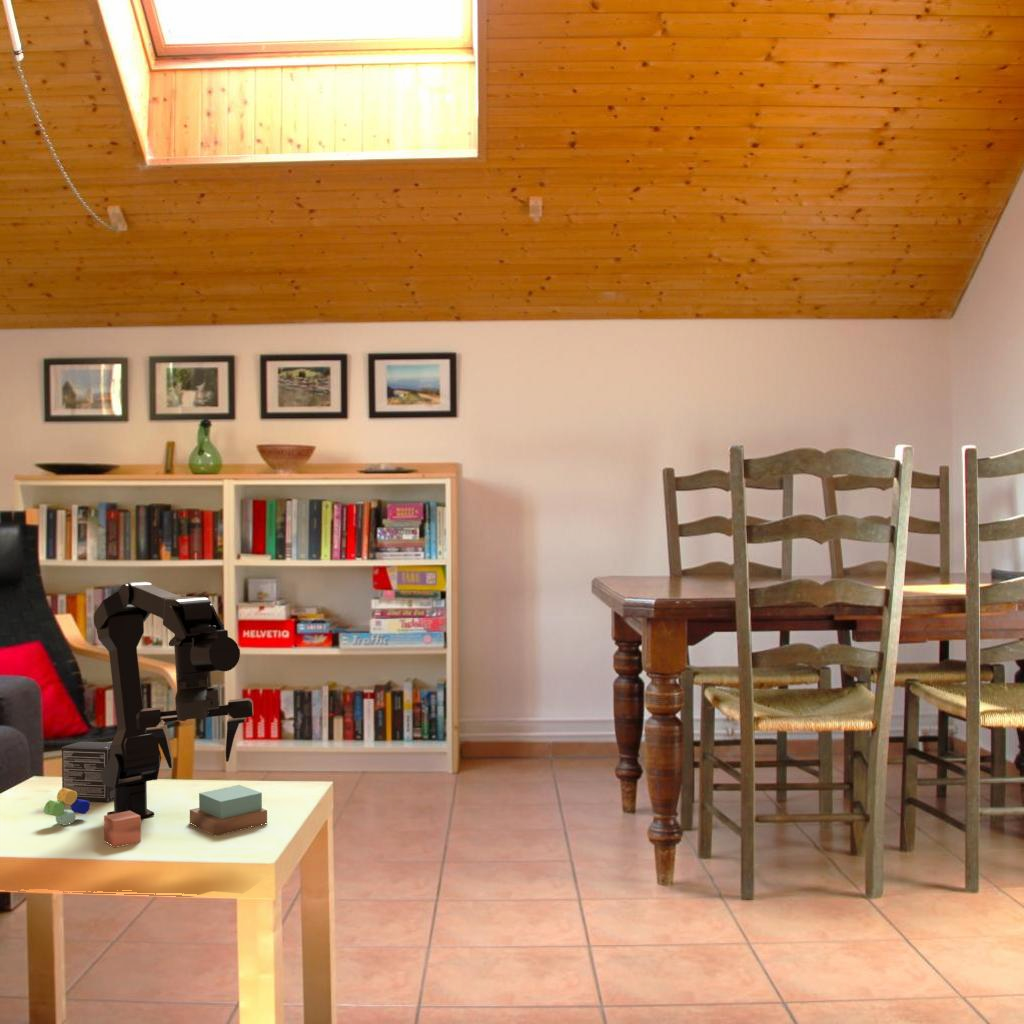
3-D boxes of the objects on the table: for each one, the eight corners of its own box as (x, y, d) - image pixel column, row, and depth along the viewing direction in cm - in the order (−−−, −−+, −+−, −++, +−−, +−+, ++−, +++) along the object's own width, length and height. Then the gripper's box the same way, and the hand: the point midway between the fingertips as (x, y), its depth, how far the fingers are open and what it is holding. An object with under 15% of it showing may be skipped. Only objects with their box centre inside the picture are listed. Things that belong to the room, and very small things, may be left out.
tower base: (189, 826, 188) (189, 809, 188) (240, 815, 195) (240, 799, 195) (215, 839, 180) (214, 821, 180) (267, 827, 187) (267, 810, 187)
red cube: (104, 842, 178) (103, 815, 178) (130, 836, 181) (130, 810, 181) (114, 848, 175) (114, 821, 175) (140, 842, 178) (140, 815, 178)
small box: (128, 794, 208) (127, 741, 208) (108, 803, 202) (107, 749, 202) (81, 791, 211) (80, 739, 211) (60, 800, 204) (59, 746, 204)
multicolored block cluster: (83, 816, 193) (82, 781, 193) (91, 818, 192) (91, 783, 192) (42, 827, 187) (42, 791, 187) (50, 829, 185) (50, 793, 185)
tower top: (199, 809, 188) (199, 793, 188) (239, 800, 193) (239, 784, 193) (221, 818, 182) (220, 801, 182) (261, 809, 188) (261, 792, 188)
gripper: (128, 681, 168) (134, 779, 167) (248, 669, 172) (254, 765, 171) (138, 676, 179) (143, 768, 178) (250, 665, 183) (256, 755, 182)
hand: (199, 764), depth 177 cm, fingers open, 9 cm apart
